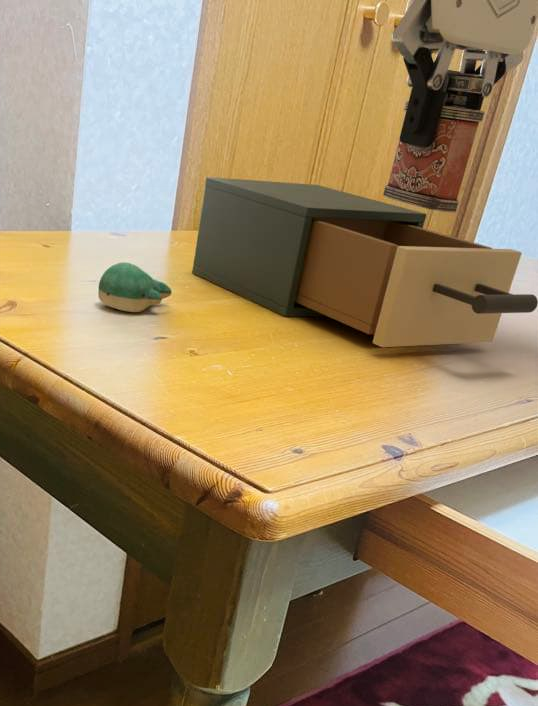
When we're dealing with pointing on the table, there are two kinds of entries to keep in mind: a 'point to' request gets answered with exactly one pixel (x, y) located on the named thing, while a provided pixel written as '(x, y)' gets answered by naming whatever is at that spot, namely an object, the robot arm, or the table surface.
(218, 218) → the cabinet
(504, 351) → the table surface
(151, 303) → the whale figurine
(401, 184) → the lighter
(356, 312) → the drawer
